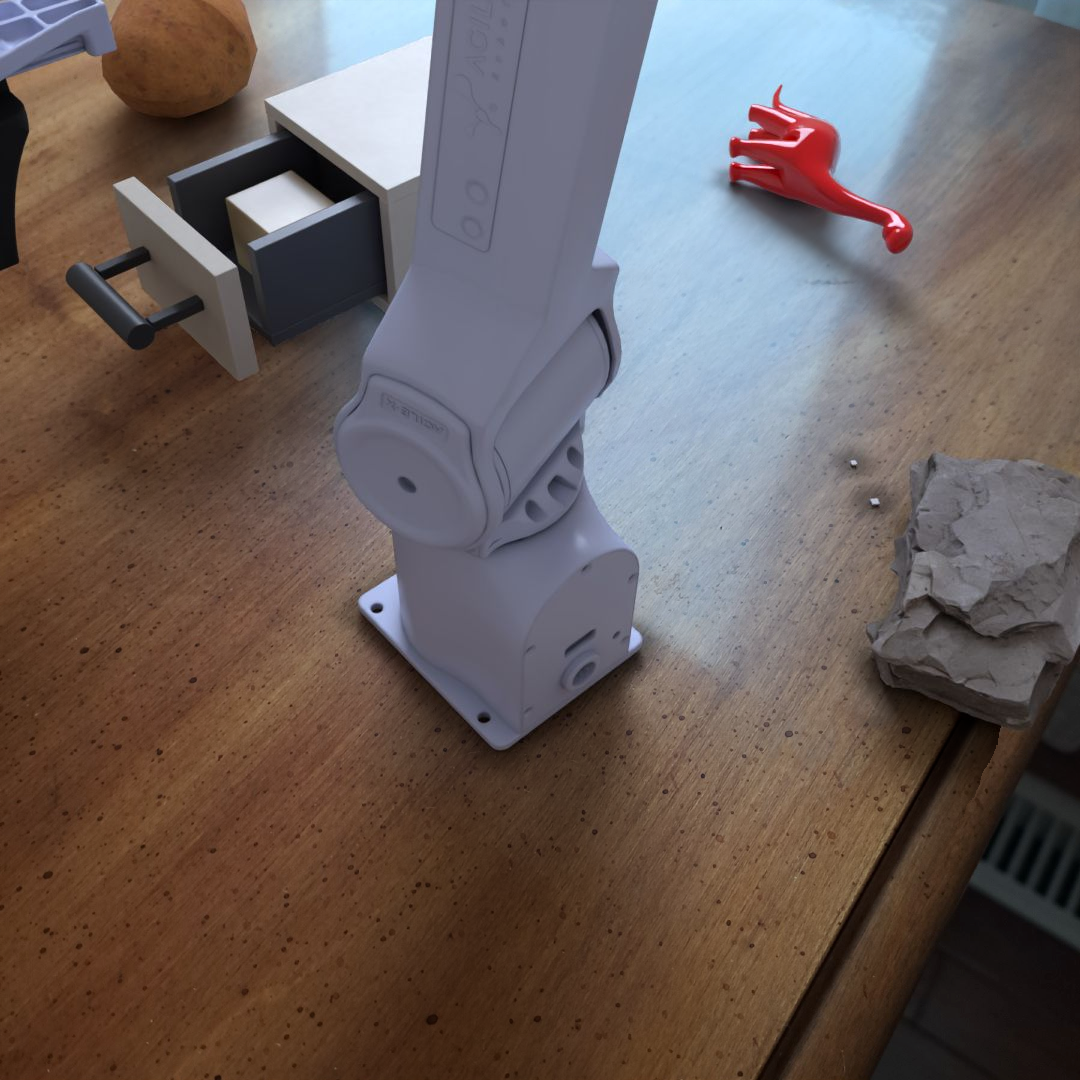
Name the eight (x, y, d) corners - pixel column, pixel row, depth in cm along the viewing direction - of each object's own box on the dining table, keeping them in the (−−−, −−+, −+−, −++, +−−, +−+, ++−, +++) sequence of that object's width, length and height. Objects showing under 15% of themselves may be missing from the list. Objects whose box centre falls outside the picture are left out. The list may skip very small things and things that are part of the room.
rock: (1080, 764, 46) (1120, 712, 43) (848, 692, 48) (870, 637, 45) (1105, 513, 54) (1140, 455, 51) (905, 459, 56) (927, 400, 53)
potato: (291, 68, 79) (275, -47, 74) (223, 158, 72) (199, 38, 67) (163, 49, 81) (137, -66, 75) (83, 135, 74) (48, 16, 68)
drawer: (164, 420, 56) (132, 314, 51) (69, 321, 61) (32, 216, 56) (425, 287, 63) (418, 183, 58) (323, 208, 68) (309, 105, 63)
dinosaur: (777, 113, 78) (971, 140, 73) (688, 242, 69) (901, 282, 64) (779, 55, 75) (981, 79, 70) (687, 182, 66) (909, 220, 62)
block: (345, 269, 62) (336, 203, 59) (280, 300, 60) (268, 234, 57) (301, 234, 64) (291, 169, 61) (237, 263, 62) (224, 197, 59)
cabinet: (398, 324, 63) (387, 190, 56) (285, 232, 68) (263, 99, 61) (575, 233, 68) (582, 102, 62) (458, 154, 73) (454, 25, 67)
